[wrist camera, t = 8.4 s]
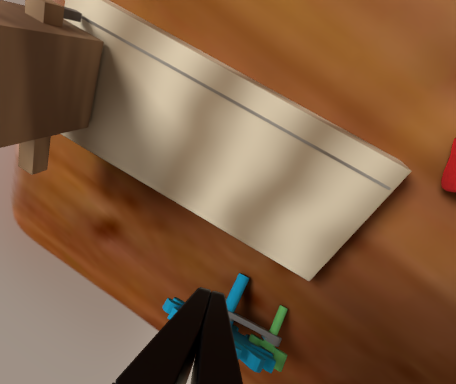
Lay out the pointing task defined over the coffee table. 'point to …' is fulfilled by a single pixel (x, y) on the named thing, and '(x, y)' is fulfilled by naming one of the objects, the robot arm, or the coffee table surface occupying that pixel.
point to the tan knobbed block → (44, 77)
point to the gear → (247, 344)
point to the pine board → (228, 144)
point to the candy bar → (450, 171)
